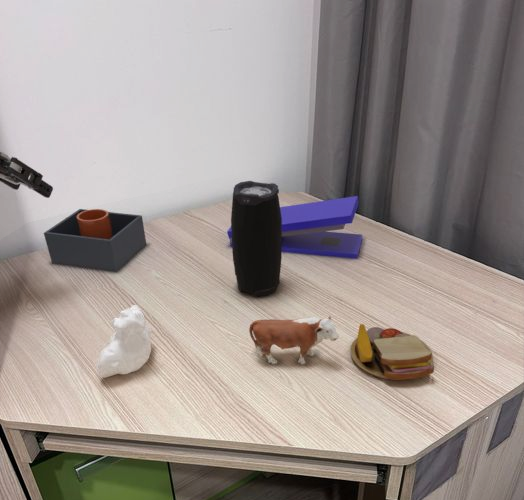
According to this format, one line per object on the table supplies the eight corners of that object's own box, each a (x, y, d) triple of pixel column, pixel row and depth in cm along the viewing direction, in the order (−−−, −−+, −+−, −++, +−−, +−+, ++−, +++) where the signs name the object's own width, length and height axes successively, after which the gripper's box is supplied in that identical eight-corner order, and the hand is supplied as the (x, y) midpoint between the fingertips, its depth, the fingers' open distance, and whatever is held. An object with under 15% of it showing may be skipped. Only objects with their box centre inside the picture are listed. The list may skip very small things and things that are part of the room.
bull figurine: (335, 372, 82) (339, 327, 77) (248, 364, 83) (246, 320, 79) (337, 354, 85) (340, 311, 80) (253, 348, 87) (252, 305, 82)
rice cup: (79, 257, 113) (70, 219, 108) (95, 245, 118) (87, 207, 113) (106, 261, 112) (98, 222, 107) (121, 248, 117) (113, 210, 112)
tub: (52, 264, 112) (43, 232, 108) (86, 238, 122) (79, 208, 118) (117, 273, 109) (110, 241, 104) (146, 246, 119) (142, 215, 115)
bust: (112, 399, 81) (143, 362, 73) (72, 366, 80) (99, 325, 72) (154, 354, 90) (185, 317, 82) (118, 324, 89) (146, 284, 81)
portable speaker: (287, 281, 105) (289, 181, 93) (269, 304, 98) (268, 200, 86) (247, 273, 107) (244, 175, 96) (227, 295, 101) (220, 193, 89)
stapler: (356, 261, 111) (361, 215, 105) (226, 249, 117) (224, 205, 111) (362, 238, 120) (366, 195, 114) (241, 227, 126) (239, 186, 120)
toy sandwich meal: (422, 335, 89) (426, 311, 86) (441, 388, 78) (447, 362, 75) (346, 335, 89) (348, 311, 86) (355, 388, 78) (357, 362, 76)
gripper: (-9, 121, 80) (69, 176, 94) (-65, 111, 86) (16, 164, 100) (-29, 167, 79) (52, 215, 94) (-84, 153, 85) (0, 200, 100)
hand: (34, 188), depth 97 cm, fingers open, 8 cm apart
